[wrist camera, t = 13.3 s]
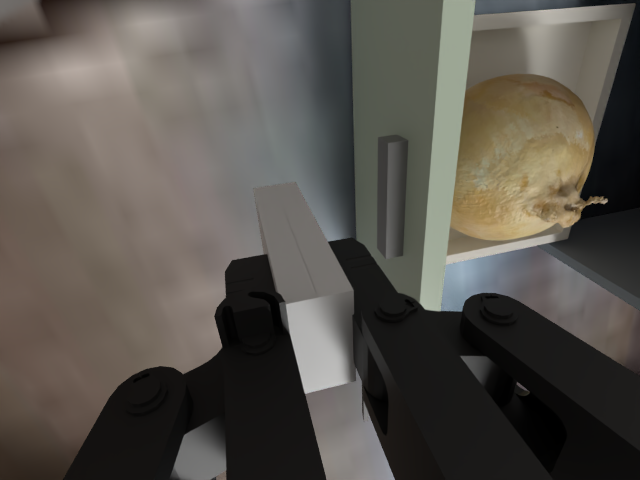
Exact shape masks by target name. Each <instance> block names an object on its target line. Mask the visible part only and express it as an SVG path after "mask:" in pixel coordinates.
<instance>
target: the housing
mask: <svg viewBox="0 0 640 480" xmlns="http://www.w3.org/2000/svg"><path fill="white" fill-rule="evenodd" d="M537 246H538V247H539V248H541V249H543V250H544V251H546V252H547V253H549V254H551V255H552V256H554V257H555V258H557V259H558V260H560V261H562V262H563V263H565V264H566V265H568V266H570V267H571V268H573V269H574V270H576V271H578V272H579V273H581V274H582V275H584V276H585V277H587V278H589V279H590V280H592V281H593V282H595V283H597V284H598V285H600V286H601V287H603V288H605V289H606V290H608V291H609V292H611V293H612V294H614V295H616V296H617V297H619V298H620V299H622V300H624V301H625V302H627V303H628V304H630V305H631V306H633V307H635V308H636V309H638V310H639V311H640V208H636V209H631V210H626V211H621V212H616V213H611V214H606V215H601V216H596V217H591V218H586V219H581V220H578V221H577V222H575V223H574V224H573V225H572V226H571V229H570V233H569V236H568V239H565V240H560V241H556V242H551V243H546V244H541V245H537Z"/></svg>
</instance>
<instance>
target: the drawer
mask: <svg viewBox="0 0 640 480" xmlns="http://www.w3.org/2000/svg"><path fill="white" fill-rule="evenodd" d="M475 1H476V0H351V37H352V79H353V121H354V163H355V205H356V240H357V241H359V242H360V243H362V244H364V245H365V247H366V248H367V249H368V251H369V252H370V254H371V257H373V258H374V259H375V261H376V262H377V265H379V266H380V268H381V269H382V271H383V272H384V274H385V275H386V276H387V278H388V279H389V281H390V282H391V284H392V285H393V286H394V288H395V289H396V291H397V292H398V293H402V294H406V295H408V296H410V297H412V298H414V299H415V300H417V301H418V302H419V303H420V304H421V305H422V306H423V308H424V309H426V310H432V311H440V310H441V301H442V292H443V283H444V274H445V266H446V264H451V263H455V262H460V261H465V260H470V259H475V258H479V257H484V256H489V255H494V254H498V253H503V252H508V251H513V250H517V249H522V248H527V247H532V246H537V245H541V244H546V243H551V242H556V241H560V240H565V239H568V236H569V233H570V229H571V226H572V225H571V226H570V227H566V228H562V227H561V226H560V225H559V223H556V224H554V225H553V226H551V227H550V228H548V229H546V230H544V231H542V232H539V233H536V234H533V235H529V236H525V237H521V238H516V239H510V240H484V239H479V238H475V237H471V236H468V235H466V234H464V233H461V232H459V231H457V230H455V229H453V228H452V227H450V221H451V213H452V204H453V195H454V186H455V177H456V168H457V160H458V151H459V142H460V133H461V124H462V115H463V107H464V98H465V90H467V89H469V88H470V87H472V86H474V85H476V84H478V83H480V82H483V81H485V80H488V79H492V78H495V77H499V76H504V75H511V74H536V75H541V76H545V77H549V78H551V79H554V80H556V81H558V82H559V83H561V84H563V85H564V86H566V87H567V88H568V89H570V90H571V91H572V92H573V93H574V94H576V95H577V96H578V97H579V98H580V99H581V100H582V102H583V104H584V106H585V108H586V109H587V111H588V114H589V116H590V118H591V121H592V124H593V128H594V134H595V137H594V138H595V143H596V140H597V136H598V133H599V130H600V126H601V123H602V119H603V116H604V112H605V109H606V105H607V102H608V99H609V95H610V92H611V88H612V85H613V81H614V78H615V74H616V71H617V68H618V64H619V61H620V57H621V54H622V50H623V47H624V43H625V40H626V37H627V33H628V30H629V26H630V23H631V19H632V16H633V12H634V9H635V6H636V3H630V4H616V5H603V6H590V7H576V8H563V9H549V10H536V11H522V12H509V13H496V14H482V15H474V9H475ZM582 188H583V187H582ZM581 192H582V189H581V191H580V193H579V196H580V195H581Z"/></svg>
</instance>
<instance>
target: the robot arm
mask: <svg viewBox="0 0 640 480" xmlns="http://www.w3.org/2000/svg"><path fill="white" fill-rule="evenodd" d="M253 190H254V197H255V203H256V209H257V215H258V221H259V227H260V233H261V239H262V245H263V251H264V255H259V256H253V257H248V258H242V259H237V260H232V261H231V263H230V264H229V266H228V268H227V269H226V271H225V284H226V298H225V299H224V300H223V301H222V302H221V304H220V305H219V306H218V307H217V310H216V313H215V316H214V317H215V320H216V324H217V328H218V332H219V335H220V339H221V343H222V349H221V350H220V351H219V352H218V354H217V355H215V356H214V357H213V358H212V359H211V360H209V361H208V362H206V363H205V364H203V365H201V366H199V367H197V368H195V369H193V370H191V371H189V372H187V373H185V374H182V373H181V372H179V371H178V370H176V369H174V368H171V367H163V366H159V367H154V368H149V369H145V370H143V371H141V372H139V373H137V374H135V375H132V376H131V377H130V378H128V379H127V380H126V381H124V382H123V383H122V384H121V385H119V386H118V387H117V389H116V390H115V391H114V393H113V394H112V395H111V396H110V398H109V399H108V401H107V403H106V404H105V406H104V408H103V410H102V412H101V413H100V415H99V417H98V419H97V420H96V422H95V424H94V426H93V427H92V429H91V431H90V433H89V435H88V436H87V438H86V440H85V442H84V443H83V445H82V447H81V449H80V450H79V452H78V454H77V456H76V458H75V459H74V461H73V463H72V465H71V466H70V468H69V470H68V472H67V473H66V475H65V477H64V479H63V480H216V476H217V475H219V474H221V473H222V472H224V471H225V470H226V478H227V480H326V476H325V472H324V468H323V464H322V460H321V456H320V452H319V448H318V444H317V440H316V436H315V432H314V428H313V424H312V420H311V416H310V412H309V408H308V404H307V400H306V396H305V394H306V393H310V392H314V391H318V390H322V389H326V388H330V387H334V386H338V385H342V384H346V383H350V382H354V381H356V368H357V371H358V373H359V376H360V378H361V380H362V413H363V420H364V422H366V421H368V413H369V416H370V418H371V421H372V423H373V426H374V428H375V431H376V433H377V436H378V438H379V441H380V443H381V446H382V448H383V451H384V453H385V456H386V458H387V461H388V463H389V466H390V468H391V471H392V473H393V476H394V478H395V480H640V376H638V375H637V374H635V373H634V372H632V371H630V370H629V369H627V368H625V367H624V366H622V365H621V364H619V363H617V362H616V361H614V360H613V359H611V358H609V357H608V356H606V355H605V354H603V353H601V352H600V351H598V350H596V349H595V348H593V347H592V346H590V345H588V344H587V343H585V342H584V341H582V340H580V339H579V338H577V337H576V336H574V335H572V334H571V333H569V332H568V331H566V330H564V329H563V328H561V327H559V326H558V325H556V324H555V323H553V322H551V321H550V320H548V319H547V318H545V317H543V316H542V315H540V314H539V313H537V312H535V311H534V310H532V309H530V308H529V307H527V306H526V305H524V304H522V303H521V302H519V301H517V300H515V299H513V298H510V297H508V296H505V295H500V294H496V293H481V294H477V295H473V296H471V297H470V298H468V299H467V300H466V301H465V303H464V306H463V311H462V312H455V311H432V310H426V309H424V308H423V306H422V305H421V304H420V303H419V302H418V301H417V300H415V299H414V298H412V297H410V296H408V295H406V294H402V293H398V292H397V291H396V289H395V288H394V286H393V285H392V284H391V282H390V281H389V279H388V278H387V276H386V275H385V274H384V272H383V271H382V269H381V268H380V266H379V265H377V262H376V261H375V259H374V258H373V257H371V254H370V252H369V251H368V249H367V248H366V247H365V245H364V244H362V243H360V242H359V241H357V240H355V239H353V238H347V239H341V240H336V241H330V242H327V240H326V238H325V236H324V234H323V232H322V230H321V229H320V227H319V225H318V223H317V221H316V219H315V217H314V216H313V214H312V212H311V210H310V208H309V206H308V204H307V203H306V201H305V199H304V197H303V195H302V193H301V191H300V190H299V188H298V186H297V184H296V182H292V183H286V184H279V185H272V186H265V187H258V188H253ZM517 382H519V383H520V384H521V385H522V386H523V387H525V388H526V389H527V390H528V391H530V392H528V391H525V390H523V389H522V388H520V387H519V386H517V385H516V384H517Z"/></svg>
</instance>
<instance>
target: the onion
mask: <svg viewBox="0 0 640 480" xmlns="http://www.w3.org/2000/svg"><path fill="white" fill-rule="evenodd" d="M594 137H595V134H594V128H593V124H592V121H591V118H590V116H589V114H588V111H587V109H586V108H585V106H584V104H583V102H582V100H581V99H580V98H579V97H578V96H577V95H576V94H574V93H573V92H572V91H571V90H570V89H568V88H567V87H566V86H564V85H563V84H561V83H559V82H558V81H556V80H554V79H551V78H549V77H545V76H541V75H536V74H511V75H504V76H499V77H495V78H492V79H488V80H485V81H483V82H480V83H478V84H476V85H474V86H472V87H470V88H469V89H467V90H465V98H464V107H463V115H462V124H461V133H460V142H459V151H458V160H457V168H456V177H455V186H454V195H453V204H452V213H451V221H450V227H452V228H453V229H455V230H457V231H459V232H461V233H464V234H466V235H468V236H471V237H475V238H479V239H484V240H510V239H516V238H521V237H525V236H529V235H533V234H536V233H539V232H542V231H544V230H546V229H548V228H550V227H551V226H553V225H554V224H556V223H559V225H560V226H561V227H562V228H566V227H570V226H571V225H573V224H574V223H575V222H577V221H578V220H579V218H580V217H581V211H582V209H583V208H584V207H585V206H586V205H590V204H591V203H595V204H596V203H599V202H600V203H603V204H605V203H606V202H607V201H608V199H607V198H605V199H603V197H604V196H603V197H598V196H596V197H593V198H592V196H591V197H590V198H589V199H588V201H584V200H583V199H582V198H580V196H579V193H580V191H581V189H582V187H583V185H584V183H585V180H586V178H587V176H588V173H589V171H590V167H591V163H592V159H593V155H594V149H595V138H594Z"/></svg>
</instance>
